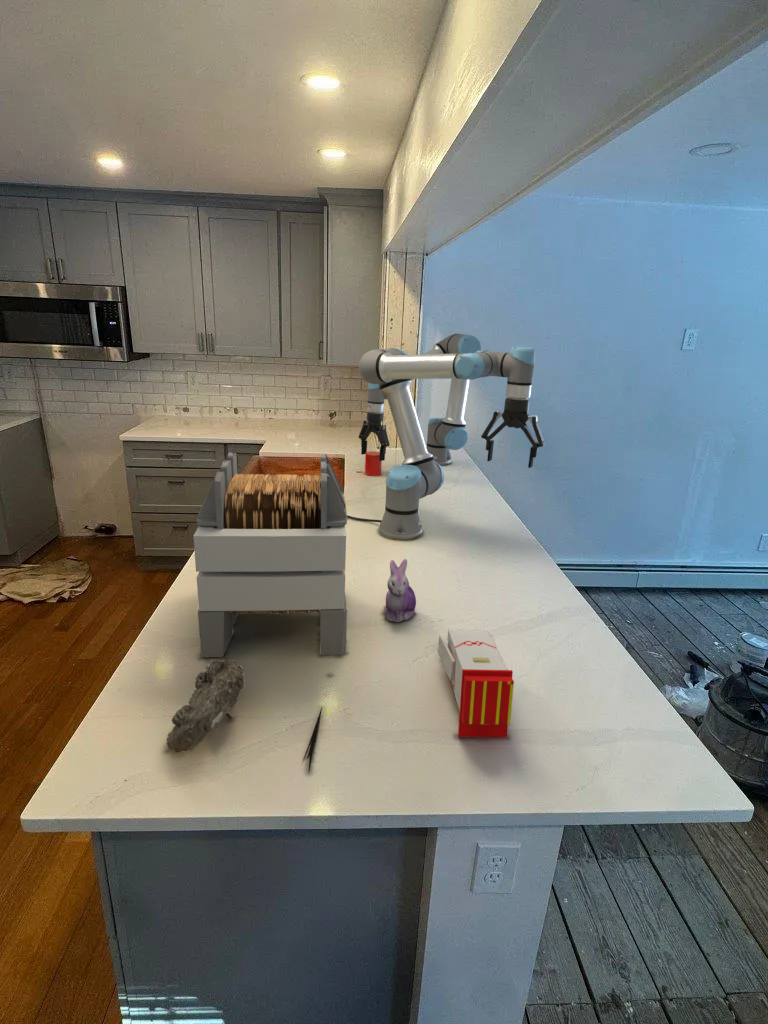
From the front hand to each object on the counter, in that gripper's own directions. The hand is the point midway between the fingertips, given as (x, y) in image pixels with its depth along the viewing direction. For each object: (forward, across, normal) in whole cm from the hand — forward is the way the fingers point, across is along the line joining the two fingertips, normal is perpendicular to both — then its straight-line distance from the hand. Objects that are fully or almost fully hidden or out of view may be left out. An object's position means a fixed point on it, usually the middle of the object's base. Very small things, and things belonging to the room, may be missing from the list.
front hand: (509, 463), depth 185 cm
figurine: (+29, +8, +61) cm, 68 cm away
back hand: (+20, +78, -50) cm, 95 cm away
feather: (+29, +4, +105) cm, 109 cm away
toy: (+29, -18, +82) cm, 89 cm away
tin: (+29, +78, -51) cm, 97 cm away
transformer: (+29, +33, +80) cm, 91 cm away
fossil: (+29, +22, +115) cm, 120 cm away
